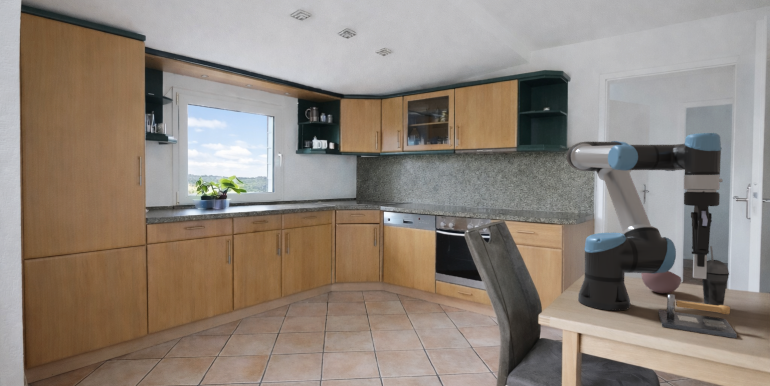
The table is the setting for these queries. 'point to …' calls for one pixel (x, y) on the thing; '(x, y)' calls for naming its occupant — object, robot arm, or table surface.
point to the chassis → (694, 321)
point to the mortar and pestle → (661, 281)
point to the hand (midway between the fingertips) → (699, 277)
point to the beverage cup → (715, 282)
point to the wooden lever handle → (704, 307)
